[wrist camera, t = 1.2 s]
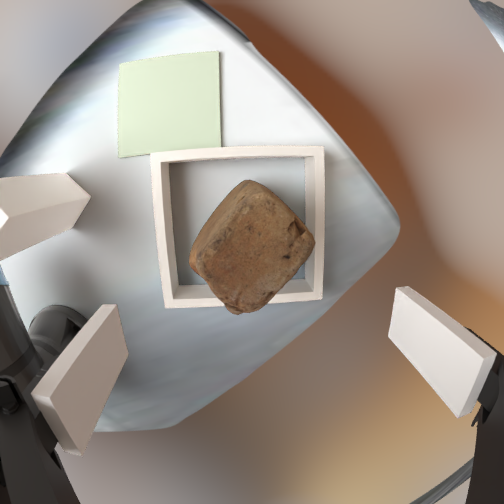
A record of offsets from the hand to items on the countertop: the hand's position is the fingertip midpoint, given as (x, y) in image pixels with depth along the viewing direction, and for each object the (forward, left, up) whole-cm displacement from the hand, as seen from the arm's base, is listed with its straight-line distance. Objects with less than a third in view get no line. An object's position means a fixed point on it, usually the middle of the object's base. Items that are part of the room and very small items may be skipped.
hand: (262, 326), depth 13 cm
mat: (-9, +17, -28) cm, 34 cm away
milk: (-25, +5, -28) cm, 38 cm away
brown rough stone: (0, 0, -28) cm, 28 cm away
